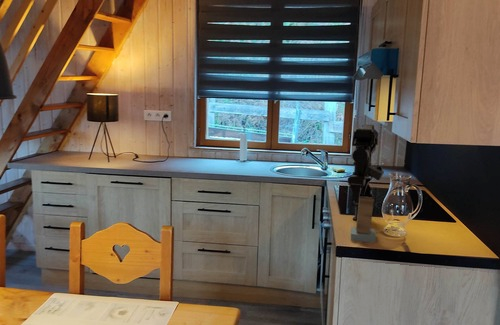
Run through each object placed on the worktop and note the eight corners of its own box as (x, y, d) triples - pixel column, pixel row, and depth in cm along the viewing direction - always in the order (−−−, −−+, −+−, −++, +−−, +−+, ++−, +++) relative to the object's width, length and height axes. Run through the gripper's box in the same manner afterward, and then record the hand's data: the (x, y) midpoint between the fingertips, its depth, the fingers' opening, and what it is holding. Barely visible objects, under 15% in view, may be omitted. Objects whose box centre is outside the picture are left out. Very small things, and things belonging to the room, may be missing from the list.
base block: (350, 234, 178) (351, 226, 178) (374, 236, 177) (374, 228, 176) (350, 241, 170) (351, 234, 169) (375, 243, 168) (375, 236, 167)
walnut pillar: (356, 228, 175) (359, 196, 174) (369, 230, 175) (372, 197, 173) (356, 232, 171) (359, 198, 169) (369, 233, 170) (373, 200, 168)
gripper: (377, 165, 168) (374, 205, 170) (387, 158, 184) (384, 195, 187) (348, 162, 173) (346, 201, 175) (360, 155, 189) (358, 192, 192)
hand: (359, 197), depth 182 cm, fingers open, 9 cm apart
